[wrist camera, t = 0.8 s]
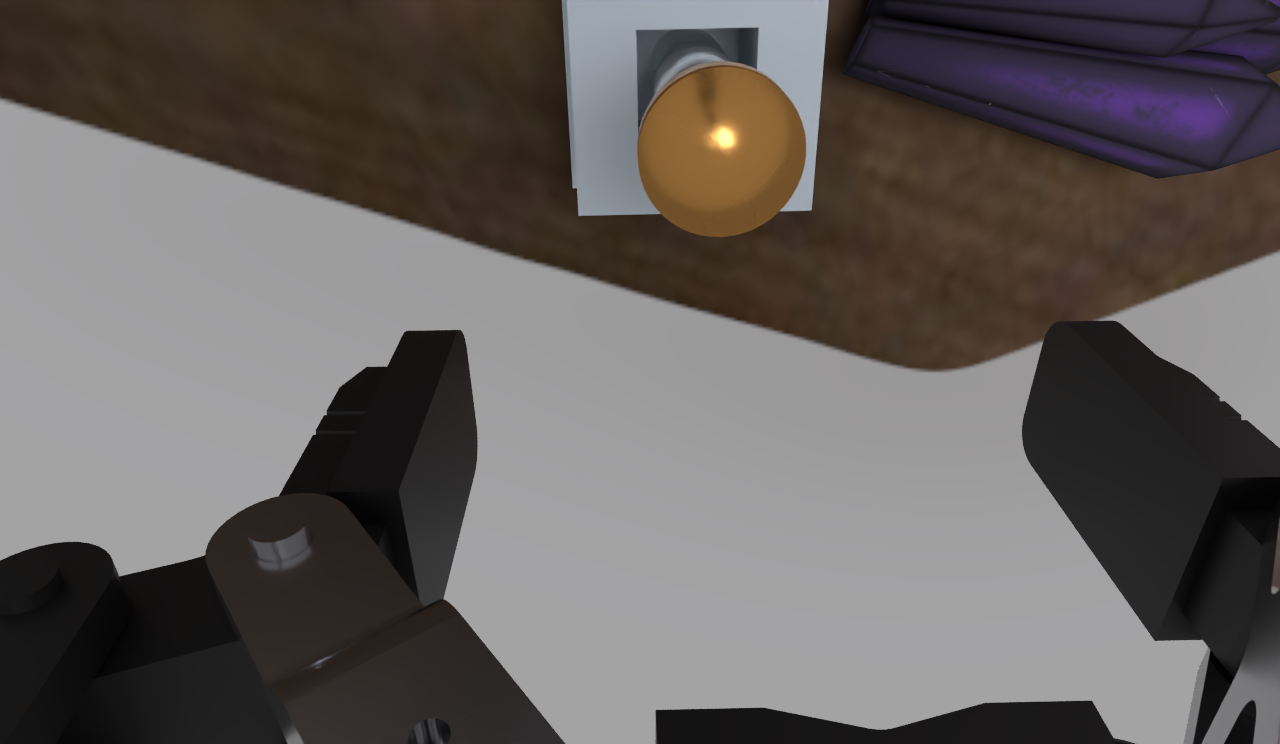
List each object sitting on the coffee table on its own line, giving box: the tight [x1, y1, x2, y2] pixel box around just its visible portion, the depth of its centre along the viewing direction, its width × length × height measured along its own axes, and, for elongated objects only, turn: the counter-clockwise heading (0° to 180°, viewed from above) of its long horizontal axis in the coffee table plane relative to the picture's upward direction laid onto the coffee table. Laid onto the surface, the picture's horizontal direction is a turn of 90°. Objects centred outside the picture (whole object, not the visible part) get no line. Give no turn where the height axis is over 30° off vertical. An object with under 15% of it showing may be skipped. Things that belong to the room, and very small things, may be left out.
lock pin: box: [637, 29, 806, 237], centre depth 26 cm, size 4×4×13 cm
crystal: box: [843, 0, 1280, 179], centre depth 29 cm, size 7×12×20 cm
